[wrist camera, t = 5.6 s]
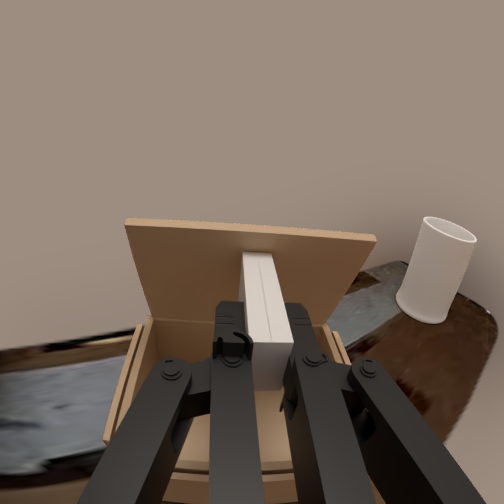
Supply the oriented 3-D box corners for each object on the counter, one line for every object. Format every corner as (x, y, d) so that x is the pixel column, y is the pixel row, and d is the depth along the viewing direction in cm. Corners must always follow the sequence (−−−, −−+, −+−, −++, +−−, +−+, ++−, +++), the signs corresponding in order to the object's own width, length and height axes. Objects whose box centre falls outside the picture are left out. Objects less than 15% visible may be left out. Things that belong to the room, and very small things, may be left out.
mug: (428, 282, 43) (451, 215, 37) (464, 310, 36) (494, 239, 30) (384, 295, 38) (409, 215, 33) (425, 331, 31) (462, 245, 26)
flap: (152, 317, 21) (124, 224, 13) (153, 310, 21) (127, 216, 14) (324, 324, 22) (377, 241, 15) (323, 317, 22) (373, 233, 15)
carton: (124, 494, 13) (95, 463, 10) (149, 365, 24) (140, 314, 21) (350, 492, 14) (389, 460, 12) (316, 370, 26) (334, 322, 23)
